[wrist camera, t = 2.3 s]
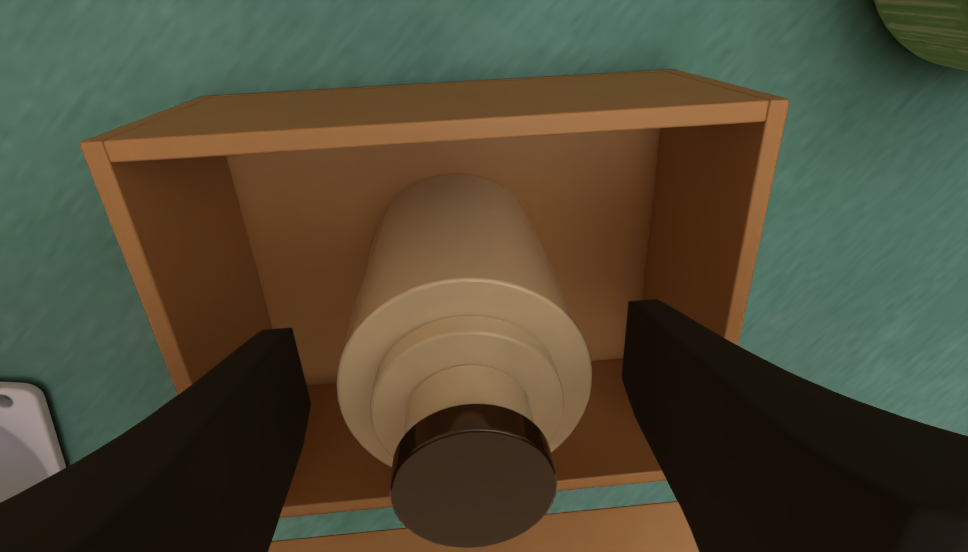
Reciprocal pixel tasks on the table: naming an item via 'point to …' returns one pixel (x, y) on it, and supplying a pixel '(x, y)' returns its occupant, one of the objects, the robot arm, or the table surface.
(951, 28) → the ramekin
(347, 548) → the flap
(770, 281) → the table surface
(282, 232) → the carton
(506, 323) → the bottle
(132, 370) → the table surface
